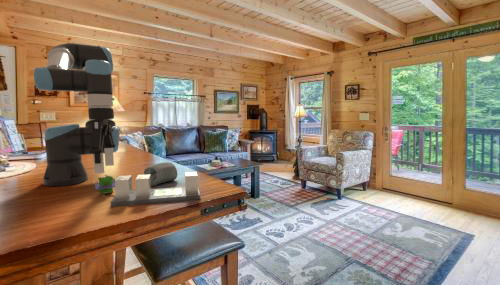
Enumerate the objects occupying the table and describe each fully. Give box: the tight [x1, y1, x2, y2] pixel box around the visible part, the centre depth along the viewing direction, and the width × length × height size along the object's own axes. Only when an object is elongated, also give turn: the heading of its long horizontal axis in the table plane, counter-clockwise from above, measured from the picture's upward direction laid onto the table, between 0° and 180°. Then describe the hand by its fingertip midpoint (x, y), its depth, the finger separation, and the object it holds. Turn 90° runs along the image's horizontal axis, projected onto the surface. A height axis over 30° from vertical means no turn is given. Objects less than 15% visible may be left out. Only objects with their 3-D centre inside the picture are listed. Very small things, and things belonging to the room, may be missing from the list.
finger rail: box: [110, 171, 201, 208], centre depth 89 cm, size 11×27×8 cm, turn 105°
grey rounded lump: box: [143, 161, 178, 187], centre depth 108 cm, size 14×10×10 cm
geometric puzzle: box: [94, 174, 116, 197], centre depth 93 cm, size 7×7×8 cm
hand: (104, 169), depth 92 cm, fingers open, 13 cm apart
